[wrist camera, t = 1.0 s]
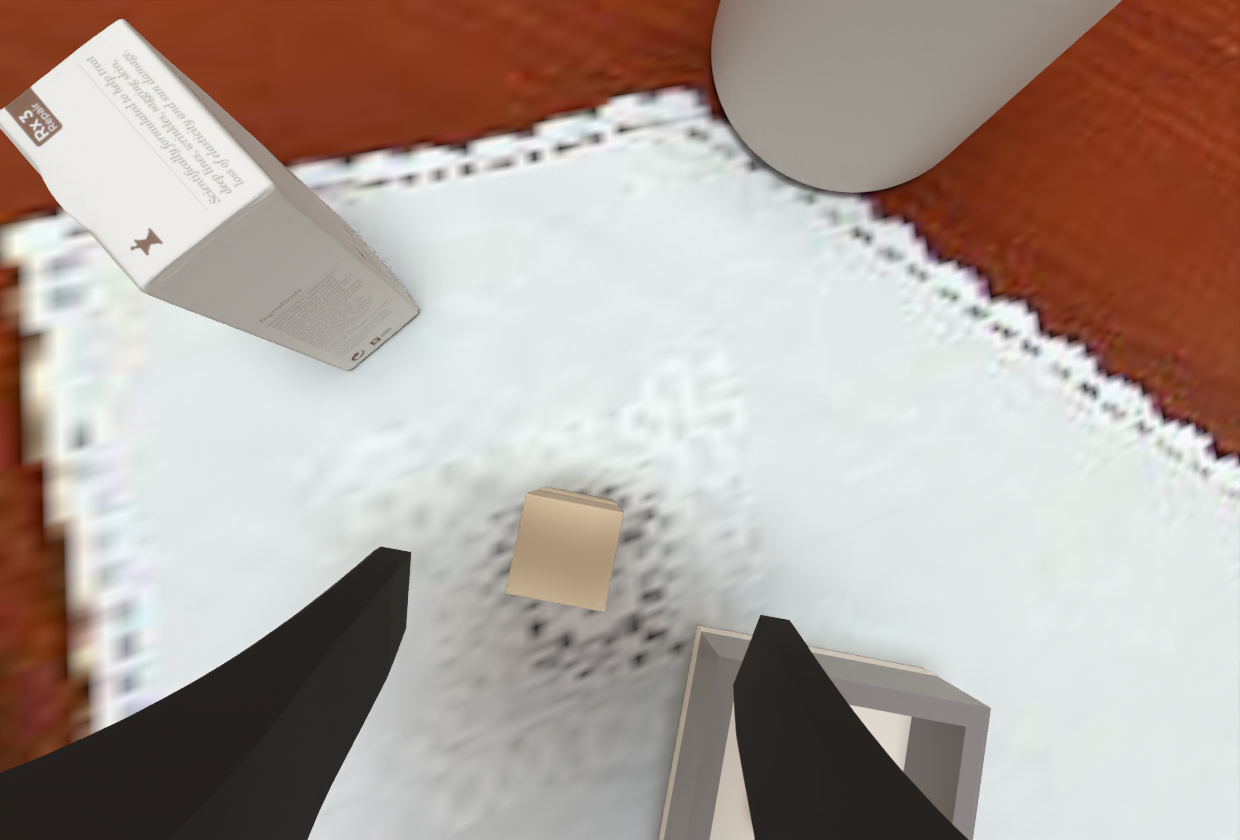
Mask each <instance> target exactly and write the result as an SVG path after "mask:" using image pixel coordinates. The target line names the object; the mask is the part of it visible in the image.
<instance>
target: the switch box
mask: <svg viewBox="0 0 1240 840" xmlns="http://www.w3.org/2000/svg"><path fill="white" fill-rule="evenodd" d="M751 638H752V636H751V635H746V634H741V633H736V632H730V631H725V630H720V629H715V628H710V627H704V626H699V625H697V629H696V635H695V640H694V646H693V651H692V657H691V662H690V668H689V673H688V679H687V684H686V690H685V695H684V701H683V707H682V712H681V718H680V723H679V729H678V734H677V740H676V745H675V751H674V756H673V762H672V767H671V773H670V778H669V784H668V789H667V795H666V800H665V806H664V812H663V817H662V823H661V828H660V834H659V839H658V840H755V838H754V832H753V827H752V821H751V816H750V811H749V805H748V800H747V794H746V789H745V783H744V778H743V772H742V767H741V761H740V755H739V750H738V744H737V738H736V728H735V714H734V693H733V684H734V681H735V679H736V676H737V674H738V671H739V669H740V666H741V664H742V661H743V659H744V656H745V653H746V651H747V648H748V646H749V643H750V641H751ZM808 648H809V649H810V650H811V652H812V653H813V655H814V656H815V658H816V659H817V661H818V662H819V663H820V665H821V666H822V668H823V669H824V671H825V672H826V673H827V675H828V676H829V678H830V679H831V680H832V682H833V683H834V685H835V686H836V687H837V689H838V690H839V692H840V693H841V694H842V696H843V697H844V698H845V700H846V701H847V703H848V704H849V705H850V707H851V708H852V709H853V711H854V712H855V713H856V714H857V716H858V717H859V718H860V720H861V721H862V722H863V724H864V725H865V726H866V727H867V729H868V730H869V731H870V732H871V734H872V735H873V736H874V737H875V739H876V740H877V741H878V742H879V743H880V745H881V746H882V747H883V748H884V750H885V751H886V752H887V753H888V754H889V756H890V757H891V758H892V759H893V760H894V762H895V763H896V764H897V765H898V766H899V767H900V769H901V770H902V771H903V772H904V773H905V774H906V775H907V776H908V778H909V779H910V780H911V781H912V782H913V783H914V784H915V785H916V786H917V787H918V788H919V789H920V791H921V792H922V793H923V794H924V795H925V796H926V797H927V798H928V799H929V800H930V801H931V803H932V804H933V805H934V806H935V807H936V808H937V809H938V810H939V811H940V812H941V813H942V814H943V815H944V816H945V817H946V818H947V819H948V820H949V821H950V822H951V823H952V824H953V825H954V826H955V827H956V828H957V829H958V830H959V831H960V832H961V833H962V834H963V835H964V836H965V837H966V838H967V839H968V840H973V834H974V827H975V819H976V812H977V805H978V798H979V790H980V783H981V776H982V768H983V761H984V754H985V747H986V739H987V732H988V725H989V717H990V710H991V708H990V707H988V706H986V705H985V704H983V703H981V702H980V701H978V700H976V699H975V698H973V697H971V696H969V695H968V694H966V693H964V692H963V691H961V690H959V689H958V688H956V687H954V686H953V685H951V684H949V683H948V682H946V681H944V680H942V679H941V678H939V677H937V676H936V675H934V674H932V673H931V672H929V671H927V670H926V669H924V668H918V667H913V666H908V665H903V664H898V663H892V662H887V661H882V660H877V659H871V658H866V657H861V656H856V655H851V654H845V653H840V652H835V651H830V650H824V649H819V648H814V647H809V646H808Z"/></svg>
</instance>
